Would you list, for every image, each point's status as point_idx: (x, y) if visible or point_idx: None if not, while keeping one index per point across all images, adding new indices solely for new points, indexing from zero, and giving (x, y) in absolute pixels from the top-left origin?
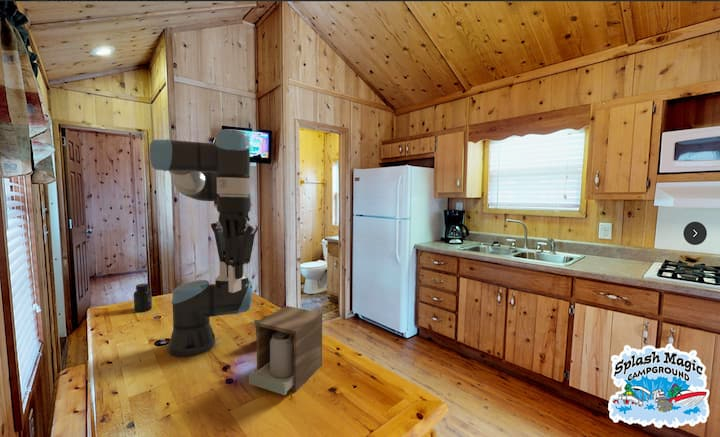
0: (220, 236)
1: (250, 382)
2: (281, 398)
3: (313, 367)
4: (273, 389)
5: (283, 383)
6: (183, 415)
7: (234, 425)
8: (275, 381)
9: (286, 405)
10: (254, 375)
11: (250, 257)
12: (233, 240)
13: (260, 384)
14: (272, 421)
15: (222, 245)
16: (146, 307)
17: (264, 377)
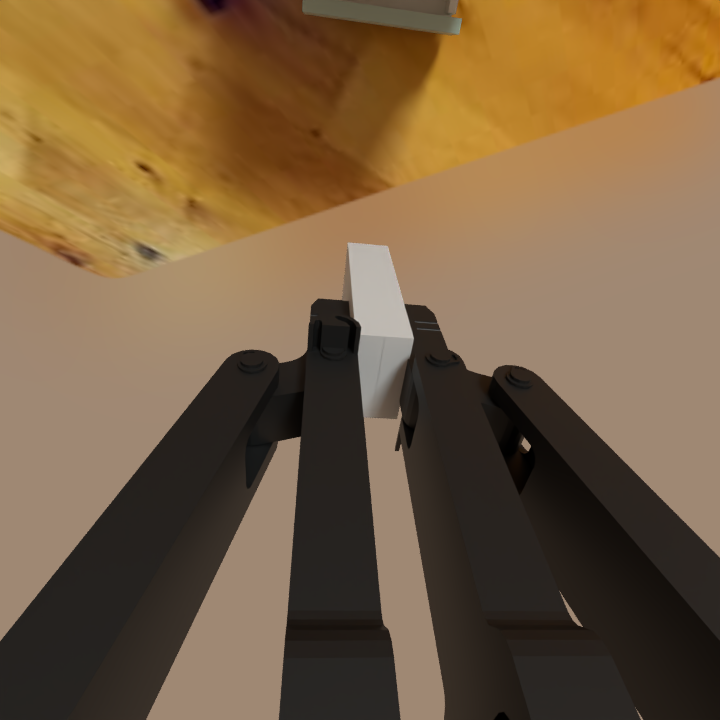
0: (143, 699)
1: (309, 14)
2: None
3: None
4: (407, 28)
5: (453, 31)
6: (224, 191)
7: (366, 179)
8: (420, 28)
9: (461, 59)
10: (327, 15)
11: (565, 404)
12: (451, 668)
13: (353, 20)
14: (448, 136)
15: (213, 550)
16: None
17: (371, 18)
